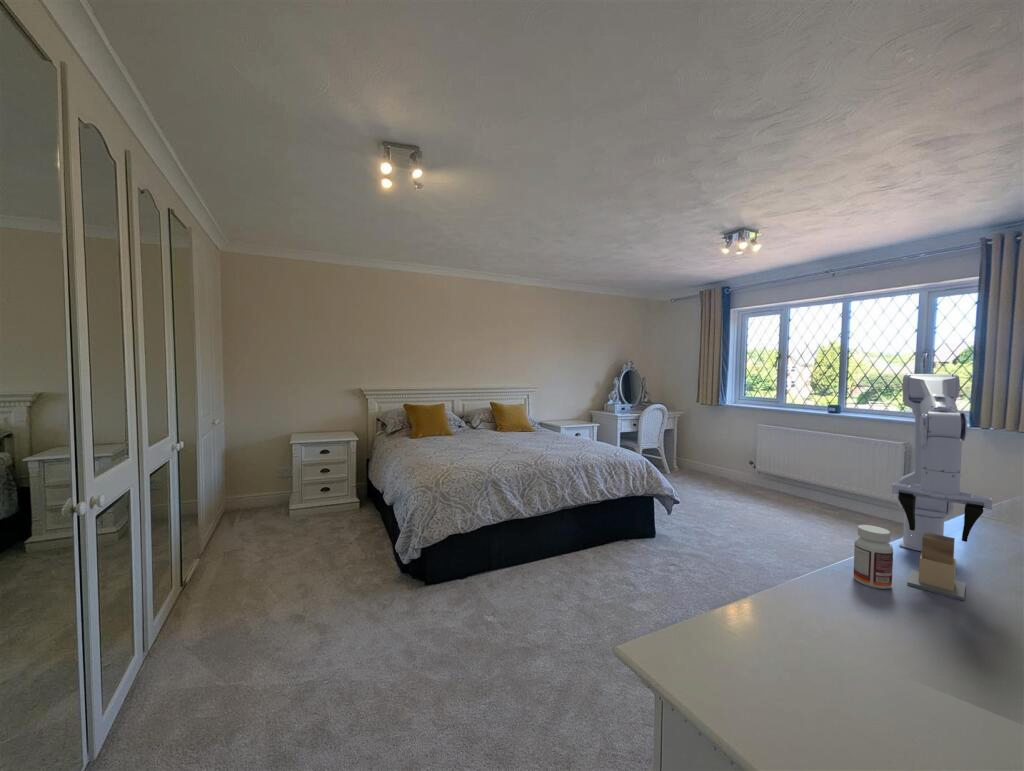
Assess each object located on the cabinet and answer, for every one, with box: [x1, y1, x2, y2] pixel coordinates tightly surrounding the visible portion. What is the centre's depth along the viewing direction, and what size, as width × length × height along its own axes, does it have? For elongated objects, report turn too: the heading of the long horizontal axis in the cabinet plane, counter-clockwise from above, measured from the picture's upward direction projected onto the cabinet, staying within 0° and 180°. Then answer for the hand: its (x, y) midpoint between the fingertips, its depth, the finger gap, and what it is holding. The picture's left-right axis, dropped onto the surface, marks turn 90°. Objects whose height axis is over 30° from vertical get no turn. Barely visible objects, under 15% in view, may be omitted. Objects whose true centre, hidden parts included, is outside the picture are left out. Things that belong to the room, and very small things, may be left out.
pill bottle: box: [853, 524, 894, 590], centre depth 88 cm, size 6×6×11 cm
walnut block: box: [921, 532, 955, 565], centre depth 87 cm, size 4×4×4 cm
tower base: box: [906, 552, 967, 601], centre depth 88 cm, size 9×8×6 cm
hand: (937, 534), depth 88 cm, fingers open, 7 cm apart
